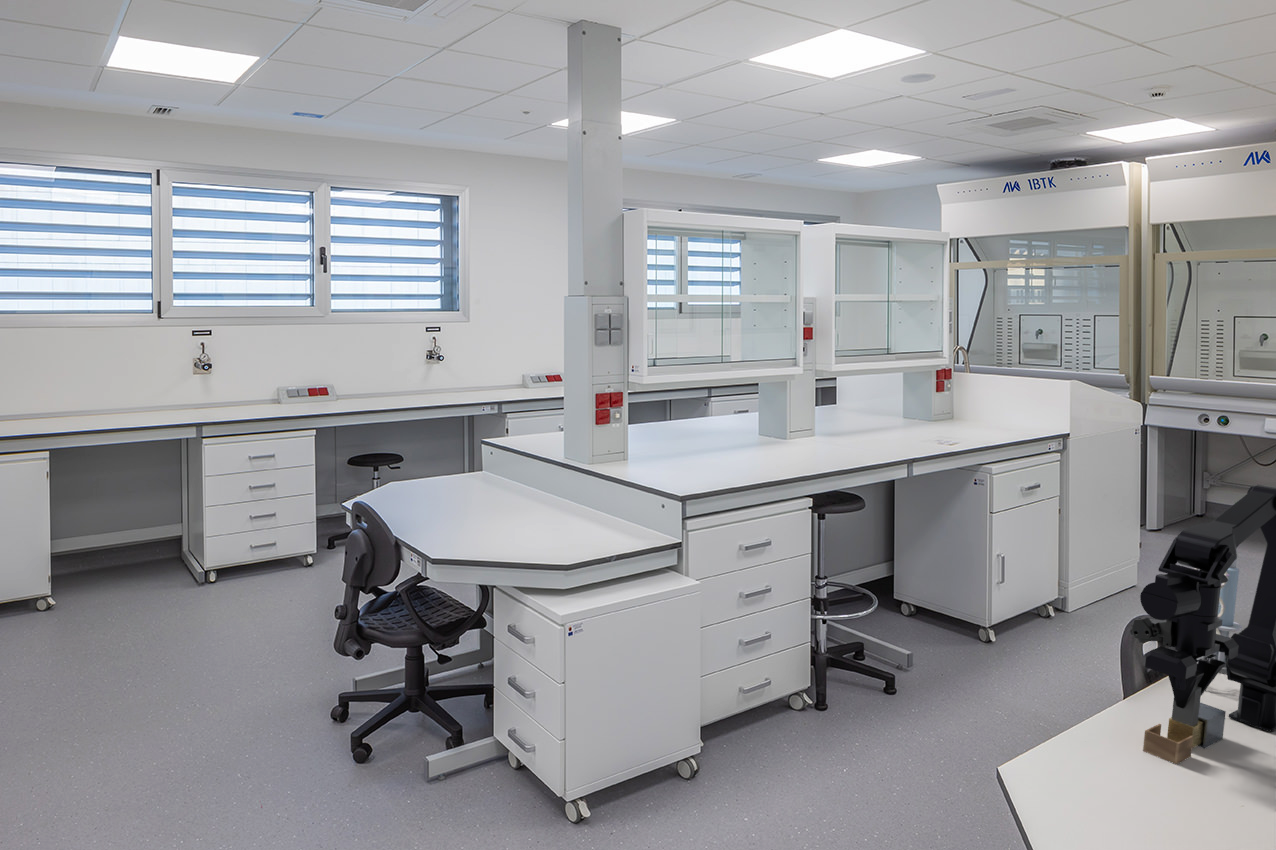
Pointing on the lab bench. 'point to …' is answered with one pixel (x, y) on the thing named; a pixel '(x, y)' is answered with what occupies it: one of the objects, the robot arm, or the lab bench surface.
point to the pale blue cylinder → (1228, 609)
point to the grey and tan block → (1187, 721)
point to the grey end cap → (1211, 724)
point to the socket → (1166, 746)
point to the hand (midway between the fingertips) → (1186, 704)
